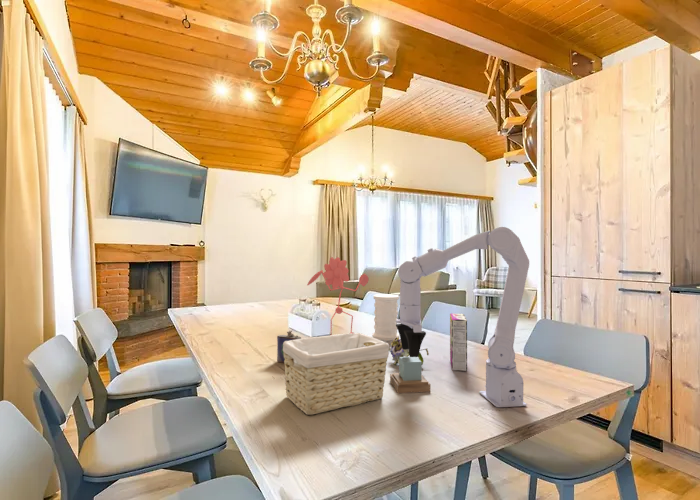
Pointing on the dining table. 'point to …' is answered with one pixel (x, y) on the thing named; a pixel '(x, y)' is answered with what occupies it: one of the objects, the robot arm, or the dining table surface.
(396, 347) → the passion flower
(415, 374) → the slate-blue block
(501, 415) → the dining table surface
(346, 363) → the storage basket
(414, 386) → the square coaster
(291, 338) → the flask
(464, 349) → the candy bar box
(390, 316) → the decorative container
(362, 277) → the figurine
